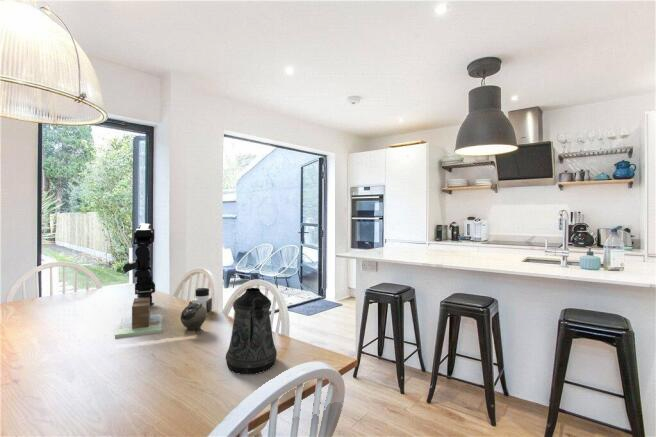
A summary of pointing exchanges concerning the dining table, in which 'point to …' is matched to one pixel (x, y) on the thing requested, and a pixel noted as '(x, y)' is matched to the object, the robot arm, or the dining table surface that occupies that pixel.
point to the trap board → (139, 331)
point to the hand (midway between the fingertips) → (143, 288)
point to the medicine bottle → (203, 298)
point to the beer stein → (251, 335)
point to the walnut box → (140, 312)
